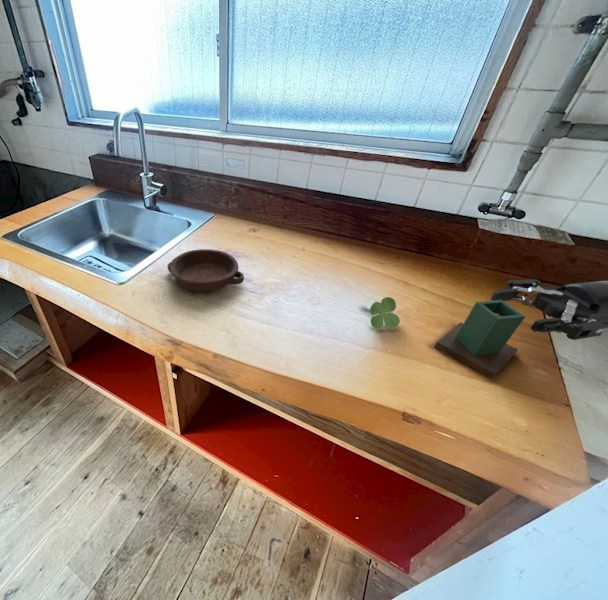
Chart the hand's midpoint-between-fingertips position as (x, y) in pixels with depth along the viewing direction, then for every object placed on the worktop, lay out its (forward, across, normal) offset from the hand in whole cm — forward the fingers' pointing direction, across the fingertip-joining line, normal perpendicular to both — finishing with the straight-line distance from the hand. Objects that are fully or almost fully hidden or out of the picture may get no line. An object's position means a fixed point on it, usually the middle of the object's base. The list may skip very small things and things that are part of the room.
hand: (513, 310), depth 58 cm
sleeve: (+3, 0, +8) cm, 9 cm away
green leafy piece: (+16, -11, +10) cm, 22 cm away
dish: (+54, -34, +10) cm, 64 cm away
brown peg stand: (+3, 0, +10) cm, 10 cm away
